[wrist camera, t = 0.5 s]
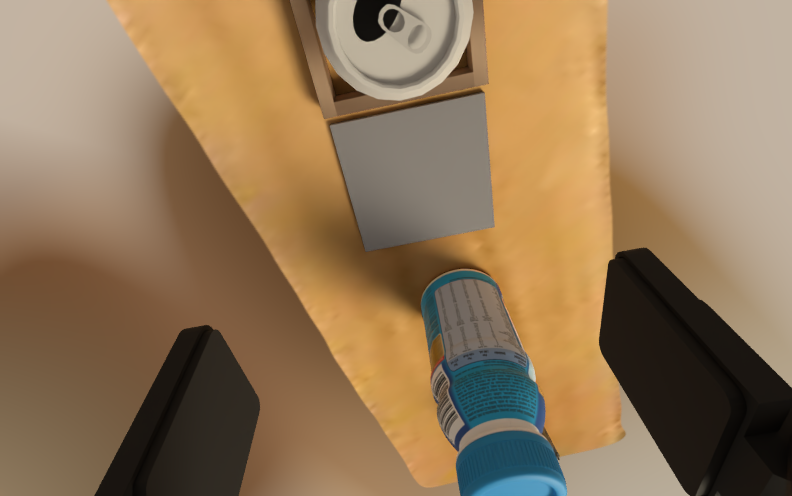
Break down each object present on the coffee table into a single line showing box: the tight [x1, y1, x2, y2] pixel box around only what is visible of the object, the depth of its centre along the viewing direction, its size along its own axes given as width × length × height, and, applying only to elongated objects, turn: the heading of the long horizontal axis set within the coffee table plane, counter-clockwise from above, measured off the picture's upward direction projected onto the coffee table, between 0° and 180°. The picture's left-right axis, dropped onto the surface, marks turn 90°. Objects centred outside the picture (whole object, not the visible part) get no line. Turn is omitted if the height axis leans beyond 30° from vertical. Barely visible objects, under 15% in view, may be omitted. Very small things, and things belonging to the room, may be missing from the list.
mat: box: [330, 92, 495, 252], centre depth 35 cm, size 12×12×1 cm
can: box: [315, 0, 474, 101], centre depth 23 cm, size 8×8×12 cm
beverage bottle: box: [421, 269, 567, 496], centre depth 35 cm, size 8×8×20 cm
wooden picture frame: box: [290, 0, 489, 119], centre depth 28 cm, size 12×12×2 cm
